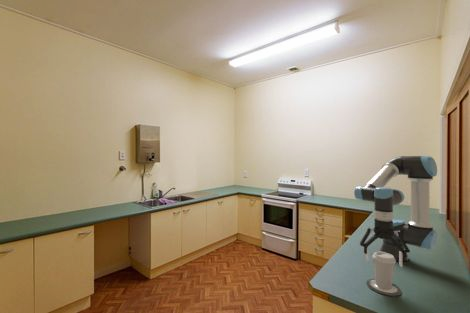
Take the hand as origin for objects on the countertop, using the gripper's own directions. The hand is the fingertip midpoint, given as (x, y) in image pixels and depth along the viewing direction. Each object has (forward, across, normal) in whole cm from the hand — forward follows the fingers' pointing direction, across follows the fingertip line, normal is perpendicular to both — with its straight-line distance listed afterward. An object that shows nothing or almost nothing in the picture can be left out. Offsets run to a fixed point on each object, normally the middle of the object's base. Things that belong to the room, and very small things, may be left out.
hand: (383, 263), depth 110 cm
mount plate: (+12, 0, -1) cm, 12 cm away
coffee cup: (+11, 0, -1) cm, 11 cm away
